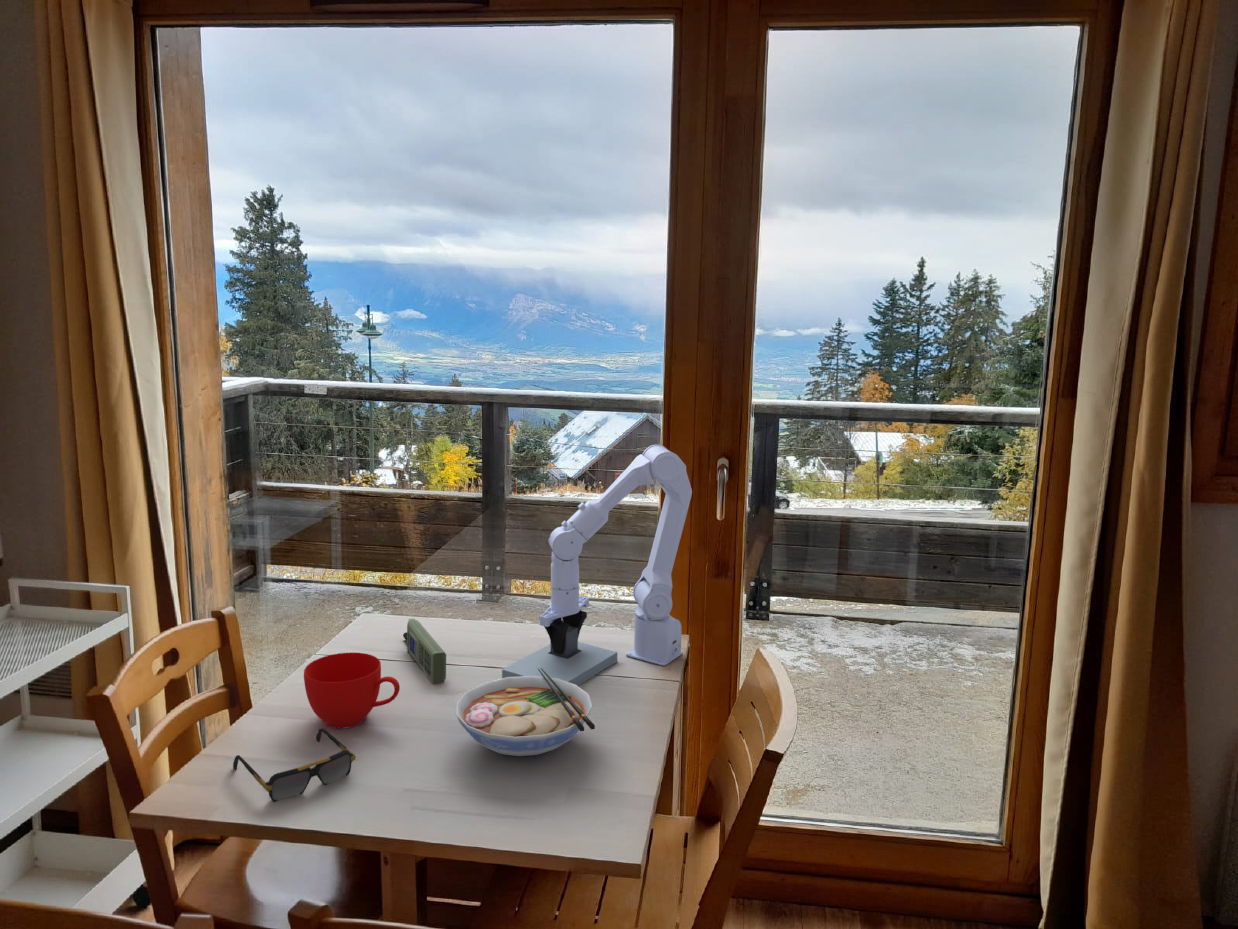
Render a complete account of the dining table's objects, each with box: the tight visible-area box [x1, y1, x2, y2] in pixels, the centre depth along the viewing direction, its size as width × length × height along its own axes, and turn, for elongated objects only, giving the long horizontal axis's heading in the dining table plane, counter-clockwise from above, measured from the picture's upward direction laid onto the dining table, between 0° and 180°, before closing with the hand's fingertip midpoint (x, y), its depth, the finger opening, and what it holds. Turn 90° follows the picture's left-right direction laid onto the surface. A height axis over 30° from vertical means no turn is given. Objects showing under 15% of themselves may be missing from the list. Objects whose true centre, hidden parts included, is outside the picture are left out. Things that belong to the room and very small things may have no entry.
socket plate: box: [501, 641, 618, 687], centre depth 180 cm, size 14×20×2 cm
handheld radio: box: [402, 617, 447, 685], centre depth 184 cm, size 7×3×25 cm
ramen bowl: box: [455, 668, 596, 757], centre depth 150 cm, size 25×23×8 cm
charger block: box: [549, 626, 579, 659], centre depth 184 cm, size 4×4×6 cm
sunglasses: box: [232, 727, 356, 803], centre depth 141 cm, size 14×15×5 cm
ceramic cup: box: [303, 651, 401, 729], centre depth 157 cm, size 13×17×10 cm
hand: (564, 649), depth 185 cm, fingers closed on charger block, 4 cm apart
